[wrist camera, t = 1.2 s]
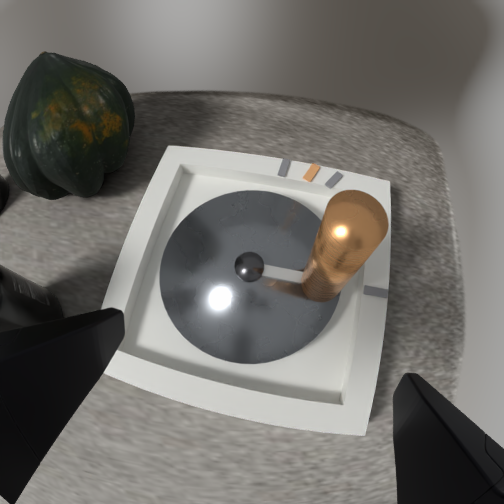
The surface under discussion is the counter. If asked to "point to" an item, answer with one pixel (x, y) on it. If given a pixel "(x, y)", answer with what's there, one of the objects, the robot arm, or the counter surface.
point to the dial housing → (265, 374)
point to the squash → (66, 127)
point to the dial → (264, 270)
